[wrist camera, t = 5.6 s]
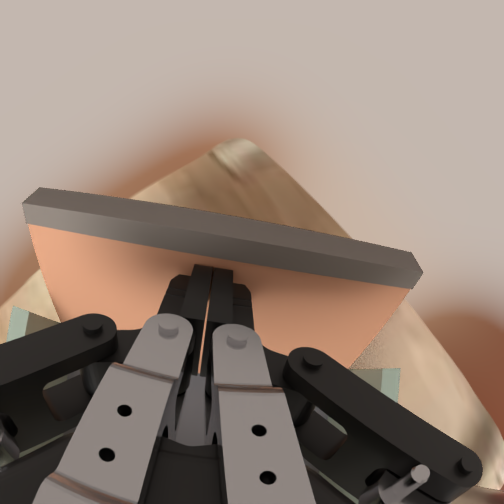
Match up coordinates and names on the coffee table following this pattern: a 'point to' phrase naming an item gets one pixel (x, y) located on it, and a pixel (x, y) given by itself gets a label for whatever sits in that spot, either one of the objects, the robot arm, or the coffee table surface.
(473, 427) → the coffee table surface
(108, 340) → the robot arm
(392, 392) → the truck bed
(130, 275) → the panel
